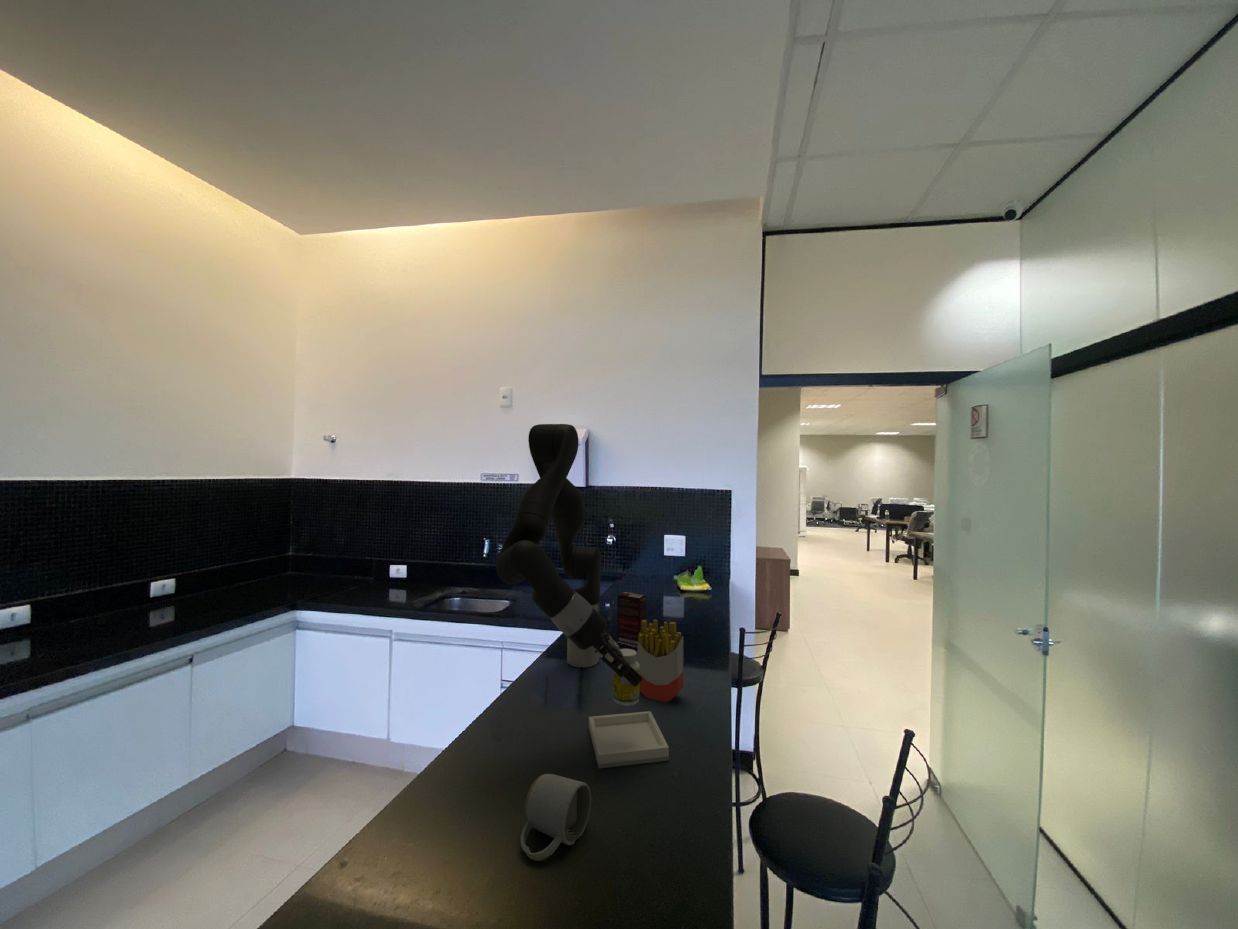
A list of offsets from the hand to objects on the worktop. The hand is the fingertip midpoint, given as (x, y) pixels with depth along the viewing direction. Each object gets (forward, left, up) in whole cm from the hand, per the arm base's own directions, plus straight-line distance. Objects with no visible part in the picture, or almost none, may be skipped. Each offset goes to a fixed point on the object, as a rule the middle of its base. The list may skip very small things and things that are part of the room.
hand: (635, 675), depth 94 cm
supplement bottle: (0, -2, -5) cm, 5 cm away
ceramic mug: (+21, -17, -14) cm, 31 cm away
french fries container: (-18, +10, -14) cm, 25 cm away
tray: (0, -2, -14) cm, 14 cm away
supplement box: (-53, +11, -14) cm, 56 cm away
